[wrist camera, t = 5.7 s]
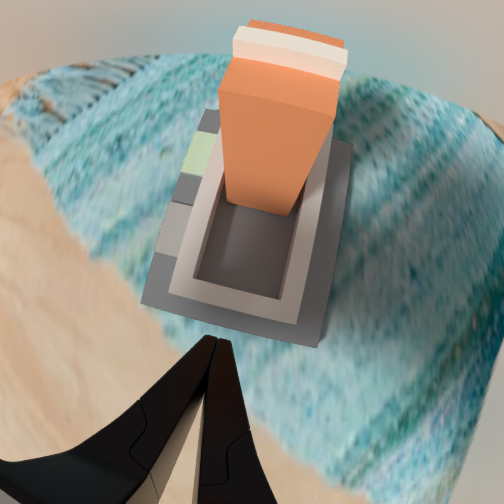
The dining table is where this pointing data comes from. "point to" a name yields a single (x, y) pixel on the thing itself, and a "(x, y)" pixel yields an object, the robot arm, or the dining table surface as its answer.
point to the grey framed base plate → (249, 246)
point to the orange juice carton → (276, 111)
